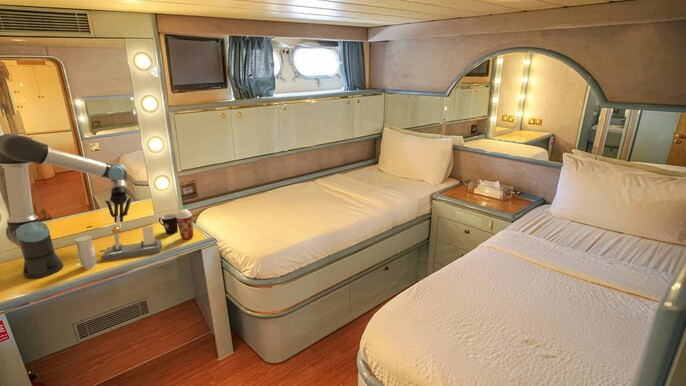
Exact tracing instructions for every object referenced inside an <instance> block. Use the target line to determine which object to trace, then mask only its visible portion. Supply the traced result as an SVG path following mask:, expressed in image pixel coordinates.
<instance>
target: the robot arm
mask: <svg viewBox="0 0 686 386" xmlns="http://www.w3.org/2000/svg"><path fill="white" fill-rule="evenodd" d="M32 163H33V164H38V165H44V164H47V165H52V166H55V167H56V166H57V167H60V168H64V169H67V170H72V171H76V172H81V173H84V174H89V175H94V176H96V177H97V176H98V177H101V178H106V179H109V180H111V181H110V182H111V184H110V185H111V186H110V187H111V188H110V198H109V199H108V200H105V204H107V205H106V206H107V207H108V211H109V214H110V216H111V217H112V218H114V223H116V226H115V227H119V228H120V229H121V228H122V223H124V217H125V216H128V214H129V209H130V206H131V203H132V202H133V199H132V197H130V198H129V197H128V191H127V190H128V188H127V187H128V185H127V183H128V178H127V177H128V176H127V175H128V170H127V167H126V165H124V164H122V163H120V164H119V163H114V164H110V163H106V162H104V161H103V162H102V161H100V160H97V159H93V158H88V157H85V156H81V155H78V154H74V153H71V152H67V151H65V150H64V151H63V150H60V149H55V148H52V147H50V146H49V144H46V143H42V142H39V141H36V140H34V139H32V138H30V137H27V136H25V135H19V134H16V133H5V134H1V135H0V166H1V167H3V171H4V178H5V184H6V191H7V200H8V206H9V207H8V208H9V214H10V216H9V217H8V218H7V220H6V222H7V226H6V229H5V235H6V237H7V240H8V241H10V242H11V243H13V244H15V245H16V246H17V247H20V250H21V252H22V257H23V259H24V261H23V268H22V273H23V277H24V278H26V279H40V278H45V277H48V276H51V275H53V274H56V273H58V272H59V271H61V270H62V269H63V268H64V263H63V261H62V260H61V258H60V257H59V256H58V255H57V253H56V251H55V248H54V244H53V240H52V238H51V237H52V236H51V233H50V228H49V227H48V225H47V224H46V223H44V222H42V221H39V216H37V215H36V214H34V206H33V197H32V188H31V181H30V175H29V165H31V164H32ZM112 203H113V205H114V207H112V205H111V204H112ZM124 204H125V205H124ZM124 206H125V207H124ZM113 209H114V210H113Z"/></svg>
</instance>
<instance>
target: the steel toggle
mask: <svg viewBox="0 0 686 386" xmlns="http://www.w3.org/2000/svg"><path fill="white" fill-rule="evenodd" d="M120 231H121V228H119V227H116V226H114V227H113V228H112V229H111V232H112V234H113V236H114V245H115V247H116V249H118V248H119V245H120V244H121V243H120V235H119V233H120Z"/></svg>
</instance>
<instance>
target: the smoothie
mask: <svg viewBox="0 0 686 386" xmlns="http://www.w3.org/2000/svg"><path fill="white" fill-rule="evenodd" d="M176 214H177V216H176V219H177V223H178V232H179V235H180V238H181V239H182V240H183V241H187V240H190V238H191V239H193V238H194V224H193V223H194V222H193V214H192V212H191V211H190V210H189V209H187V208H185V209H184V204H182V205H181V209H180V210H179V211H178V212H177V213H176ZM192 237H193V238H192Z"/></svg>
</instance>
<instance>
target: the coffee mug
mask: <svg viewBox="0 0 686 386" xmlns="http://www.w3.org/2000/svg"><path fill="white" fill-rule="evenodd" d="M176 216H177V213H169V214H164V215H163V216H161V217H159V218H158V222H159V224H161V226H163V227H164V231H165V233H166V235H174V234H176V233H178V232H179V227H178V223H177V219H176Z"/></svg>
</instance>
